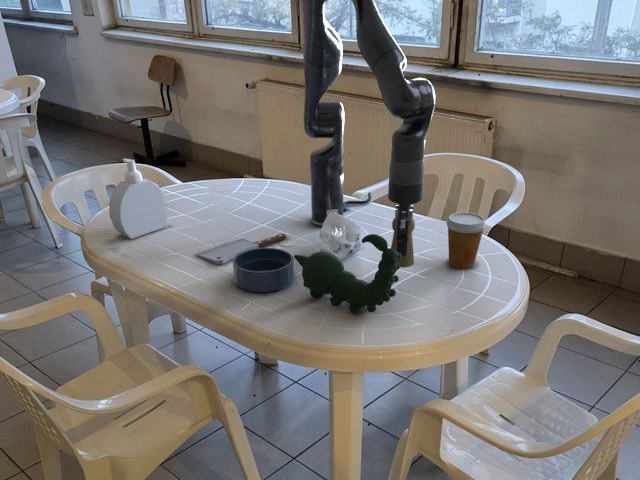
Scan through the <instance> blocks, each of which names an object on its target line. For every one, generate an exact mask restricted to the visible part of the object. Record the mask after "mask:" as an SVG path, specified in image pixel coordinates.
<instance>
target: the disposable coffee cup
mask: <svg viewBox="0 0 640 480" xmlns="http://www.w3.org/2000/svg"><path fill="white" fill-rule="evenodd" d="M445 223H446V226H447V235H448V236H447V241H448V264H449V265H450V266H451V267H453V268H456V269H462V270H467V269H471V268H473V267H474V266H475V263H476V259H477V256H478V251H479V247H480V244H481V240H482V236H483V232H484V230H485V228H486V226H487V223H486V218H485V217H484V216H483V215H481V214H478V213H475V212H468V211H467V212H466V211H460V212H454V213H452V214H450V215H449V216H448V219H447V220H446V222H445Z"/></svg>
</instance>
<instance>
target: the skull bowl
mask: <svg viewBox="0 0 640 480" xmlns="http://www.w3.org/2000/svg"><path fill="white" fill-rule="evenodd" d="M367 235H369V233H368V232H367V231H366V230H365V229H364V228H363V227H361V226H360V225H358V224H357V223H355V222H354V221H353V220H351V219H350V218H348V217H346V216H344V215H343V216H342V215H339V214H336V213H333V212H330V213H329V214H328V216H327V217H326V219H325V221H324V223H323V226H322V227H321V229H320V231H319V234H318V237H319V238H320V239H321V242H320V243H319V244H318V245H317V248H318V252H320V251H327V252H330V253H333V254H334V255H336V256H337V257H338V258H339V259H340V260H341V261H342V260H344V259H345V258H346V257H347V256H348V254H349V252H352V254H355V253H357V252H358V251H360V250H361V249H362V247H363V246H364V245H365V244H366V242H365V243H362V239H363V238H364V237H365V236H367ZM338 249H339V251H338ZM334 251H338V252H334Z"/></svg>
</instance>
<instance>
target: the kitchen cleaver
mask: <svg viewBox="0 0 640 480" xmlns="http://www.w3.org/2000/svg"><path fill="white" fill-rule="evenodd" d="M286 239H287V234H285V233H277V234H276V235H275V236H271V237H267V238H265V239H262V240H258V241H249V240H245V239H240V240H236V241H233V242H230V243H226V244H223V245H219V246H217V247H214V248H212V249H209V250H206V251H203V252H200V253H198V254H196V256H197V257H200V258H202V259H204V260H206V261H209V262H211V263H213V264H215V265H224V264H225V263H227V262H229V261H230V260H233V259H234V257H235V256H236V255H238V254H239V253H241V252H244V251H247V250H251V249H256V248H264V247H266V246H269V245H272V244H274V243H278V242H280V241H283V240H286Z"/></svg>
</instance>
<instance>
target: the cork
mask: <svg viewBox="0 0 640 480" xmlns="http://www.w3.org/2000/svg"><path fill="white" fill-rule="evenodd" d="M398 219H399V217H398ZM395 227H396V217H395V216H394V218H393V219H392V222H391V228H392V230H393V235H392V241H391V246H390V248H392V249H395V250H396V251H397V240H396V237H397V230H396V229H395ZM415 227H416V222H415V220H414V218H413V217H412V219H411V230H410V231H409V232H408V238H409V239H408V242H407V253H406V256H401V258H400V259H398V261H397V262H396V263H399V264H400V268H409V267H411V266H413V265H414V264H415V256H414V255H415V254H414V244H413V241H414V240H413V231H414V230H415ZM399 236H406V235H405V234H399Z"/></svg>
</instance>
